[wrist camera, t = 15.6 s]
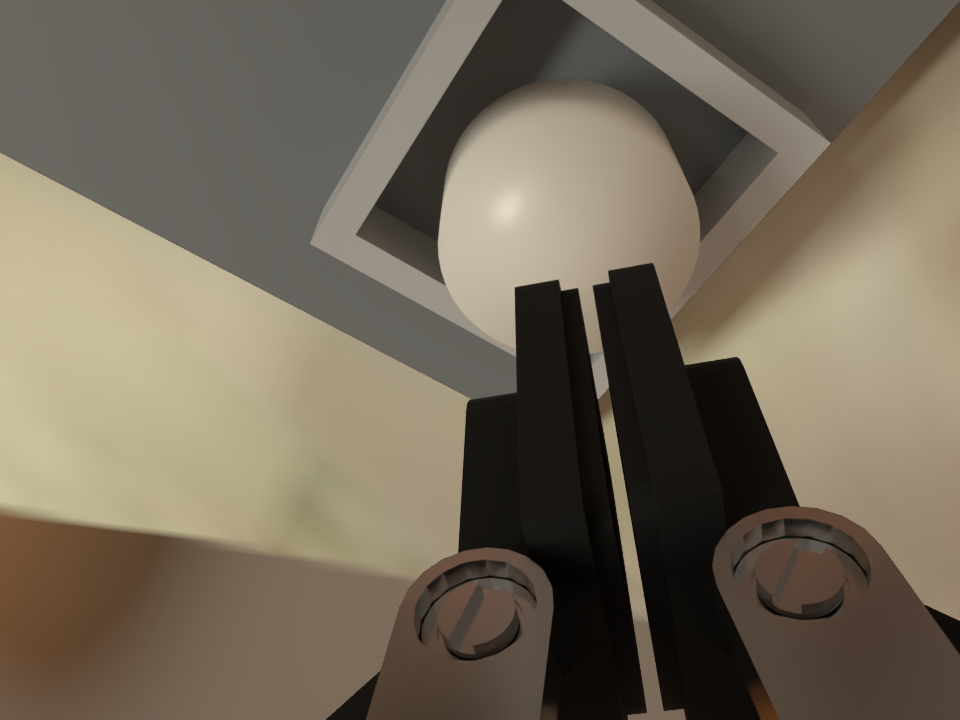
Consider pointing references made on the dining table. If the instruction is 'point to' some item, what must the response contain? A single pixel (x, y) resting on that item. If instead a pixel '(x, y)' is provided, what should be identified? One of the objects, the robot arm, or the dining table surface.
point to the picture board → (414, 127)
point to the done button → (562, 202)
